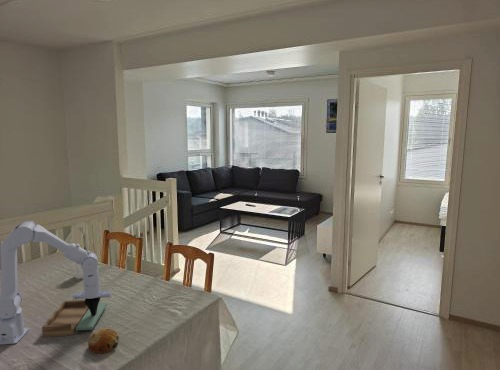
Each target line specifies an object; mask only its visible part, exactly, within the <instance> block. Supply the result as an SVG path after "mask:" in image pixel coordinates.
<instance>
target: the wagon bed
mask: <svg viewBox="0 0 500 370" xmlns="http://www.w3.org/2000/svg"><path fill="white" fill-rule="evenodd" d="M84 301H85V299H76V300H73V299H72V300H64V301H63V302H62V303H61V304H60V305H59V306H58V307H57V309H56V310H55V311H54V312H53V314H52V315H50V316H49V318H48V319H47V321H46V322H45V323H44V324H43V325H42V326H41V331H42V337H43V338H44V337H46V338H47V337H61V336H62V337H63V336H75V333H76V332H77V331H78V330H76V327H77V325H78V324H79V322H80V321H81V320H82V318H83V317H84V315H85V314H86V312H87V311H88V309H89V308H88V307H87V305H86V304H85V303H84Z"/></svg>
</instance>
